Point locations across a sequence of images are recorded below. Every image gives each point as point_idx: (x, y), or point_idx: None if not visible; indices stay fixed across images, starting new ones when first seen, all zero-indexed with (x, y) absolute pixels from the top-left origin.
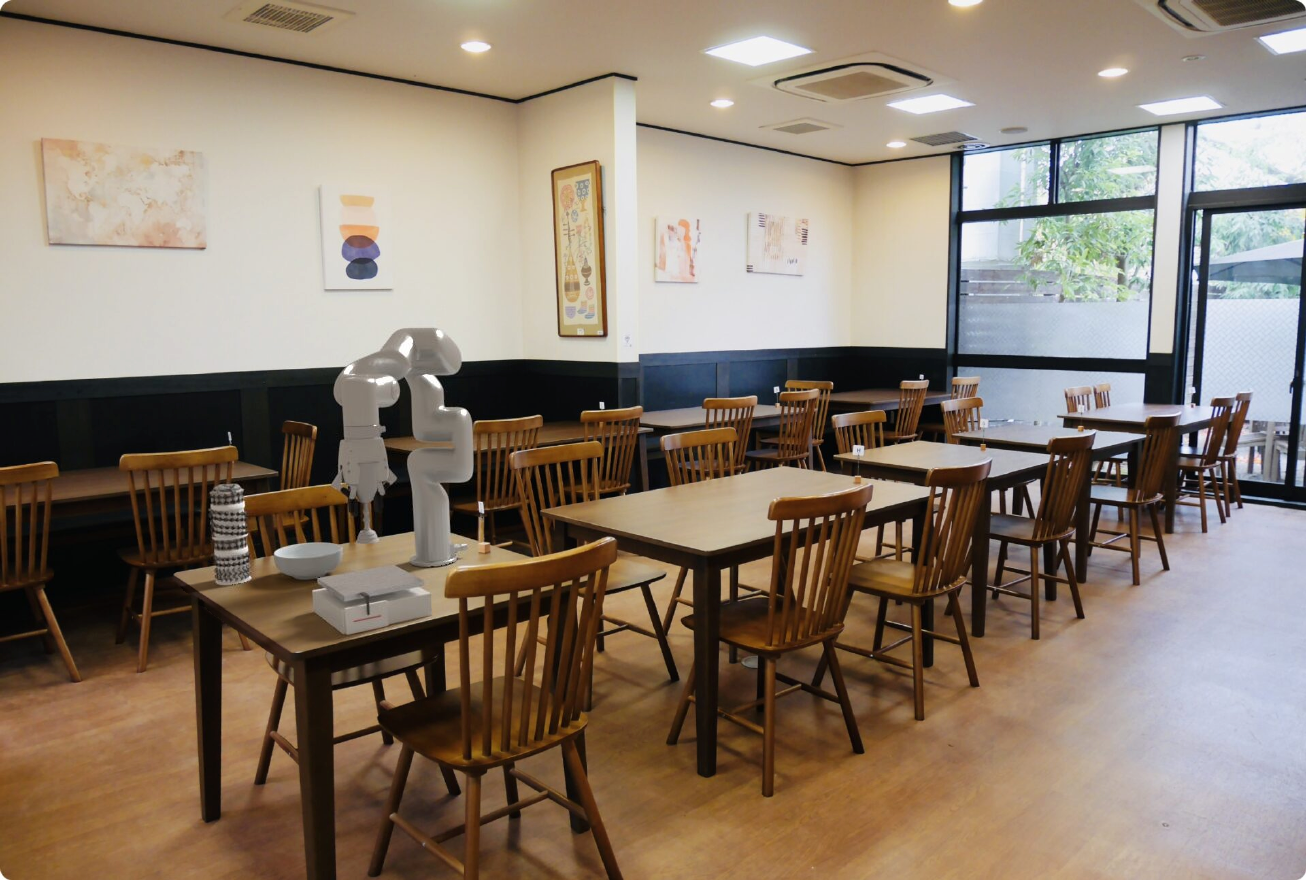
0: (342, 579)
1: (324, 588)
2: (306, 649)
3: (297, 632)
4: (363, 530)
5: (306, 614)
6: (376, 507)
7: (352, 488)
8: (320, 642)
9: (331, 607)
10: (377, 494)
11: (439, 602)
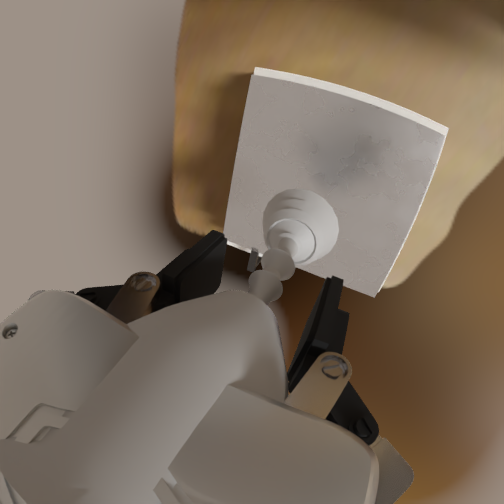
0: (283, 132)
1: (279, 74)
2: (185, 225)
3: (202, 153)
4: (276, 239)
5: None
6: (311, 316)
7: None
8: (206, 218)
9: None
10: (291, 380)
11: (438, 235)
